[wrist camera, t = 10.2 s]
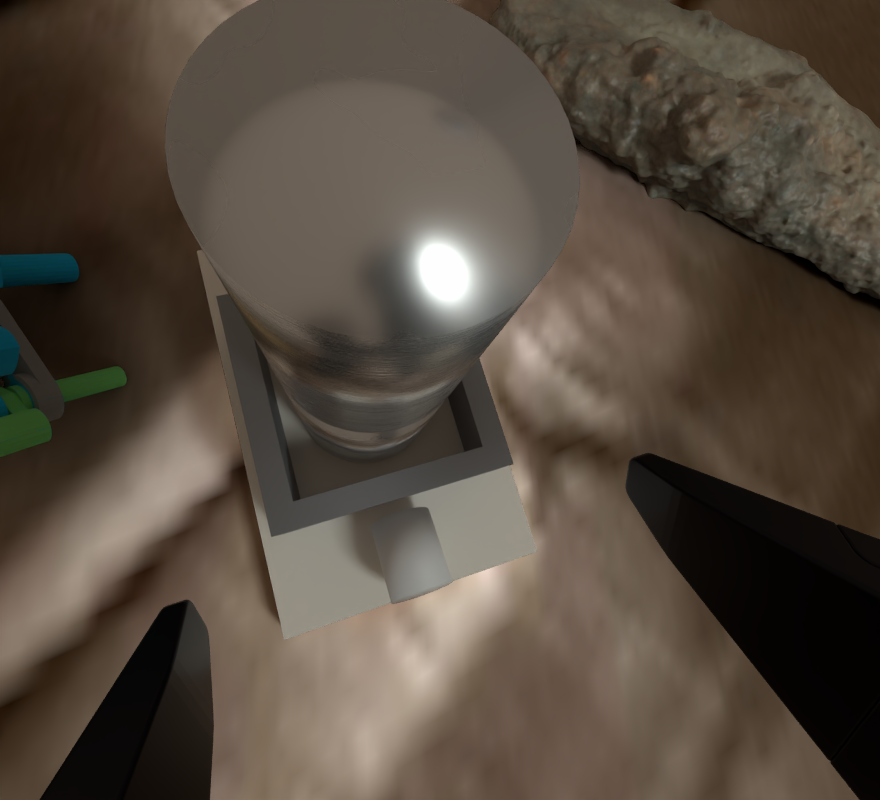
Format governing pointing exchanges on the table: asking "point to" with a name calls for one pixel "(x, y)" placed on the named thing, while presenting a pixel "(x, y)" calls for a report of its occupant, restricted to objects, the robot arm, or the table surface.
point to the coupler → (370, 199)
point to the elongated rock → (714, 123)
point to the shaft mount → (366, 493)
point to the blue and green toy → (37, 361)
